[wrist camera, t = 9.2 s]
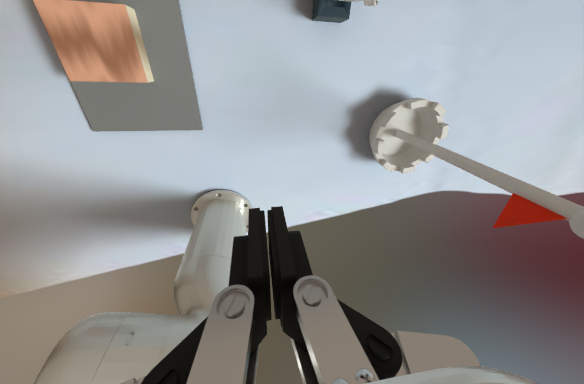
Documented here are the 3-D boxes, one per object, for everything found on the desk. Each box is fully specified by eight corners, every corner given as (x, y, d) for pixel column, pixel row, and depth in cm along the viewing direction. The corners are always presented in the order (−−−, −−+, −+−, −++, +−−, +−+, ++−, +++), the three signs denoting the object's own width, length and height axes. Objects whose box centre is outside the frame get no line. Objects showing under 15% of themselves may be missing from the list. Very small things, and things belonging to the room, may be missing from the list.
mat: (202, 129, 35) (202, 129, 35) (95, 130, 32) (93, 131, 32) (165, -67, 24) (164, -69, 23) (-4, -88, 21) (-9, -91, 21)
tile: (146, 82, 28) (69, 81, 27) (154, 81, 30) (83, 80, 29) (124, 4, 24) (31, -3, 23) (134, 9, 26) (50, 3, 25)
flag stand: (418, 80, 37) (790, 109, 11) (432, 139, 43) (687, 241, 18) (353, 123, 39) (545, 230, 13) (376, 173, 45) (534, 308, 20)
